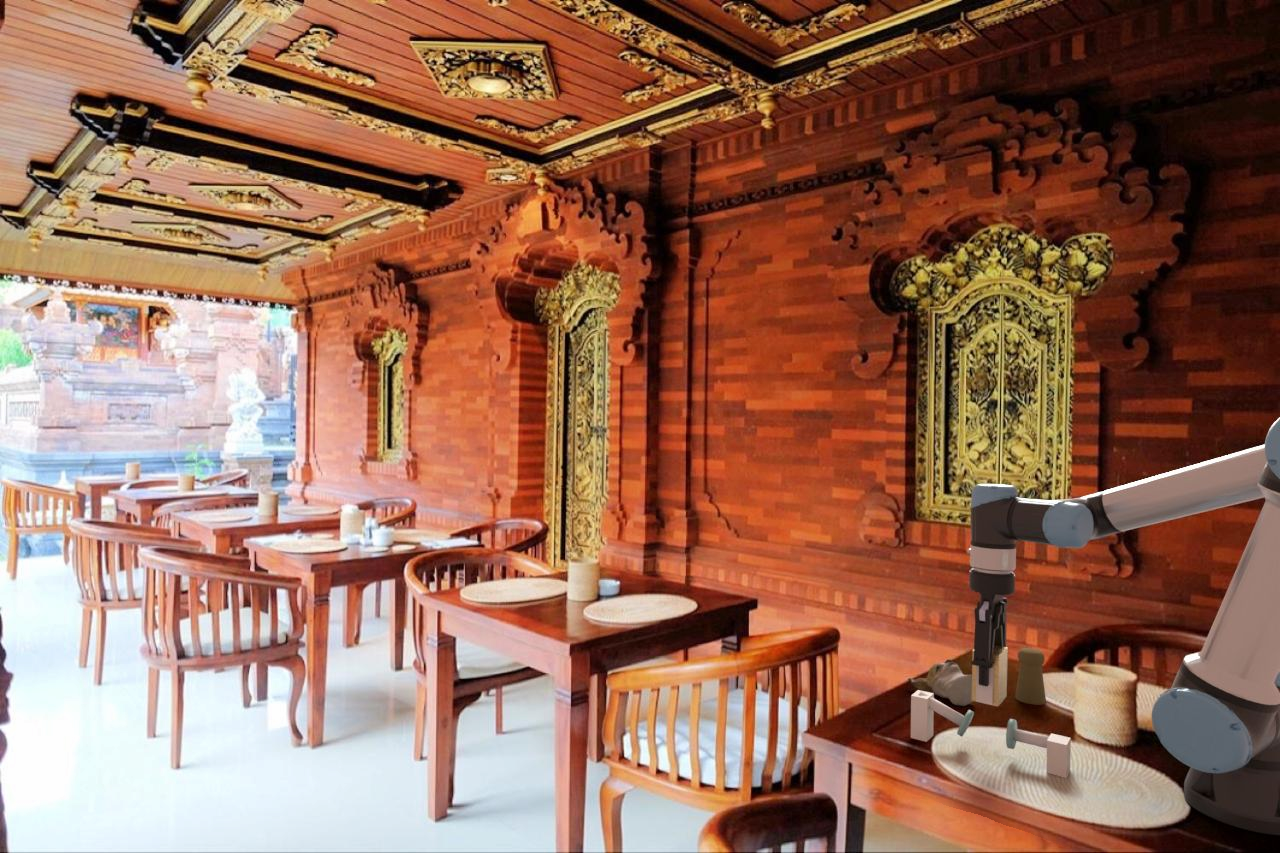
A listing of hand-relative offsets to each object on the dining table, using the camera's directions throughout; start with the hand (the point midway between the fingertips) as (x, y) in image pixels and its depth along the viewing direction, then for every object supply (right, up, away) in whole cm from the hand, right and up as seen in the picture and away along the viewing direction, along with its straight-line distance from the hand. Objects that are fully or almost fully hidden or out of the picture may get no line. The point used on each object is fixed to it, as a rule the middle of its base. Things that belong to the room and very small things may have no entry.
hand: (989, 697), depth 138 cm
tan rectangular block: (0, 0, 0) cm, 0 cm away
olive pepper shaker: (+22, -11, +28) cm, 37 cm away
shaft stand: (0, -10, 0) cm, 10 cm away
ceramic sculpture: (+4, -11, +29) cm, 31 cm away
